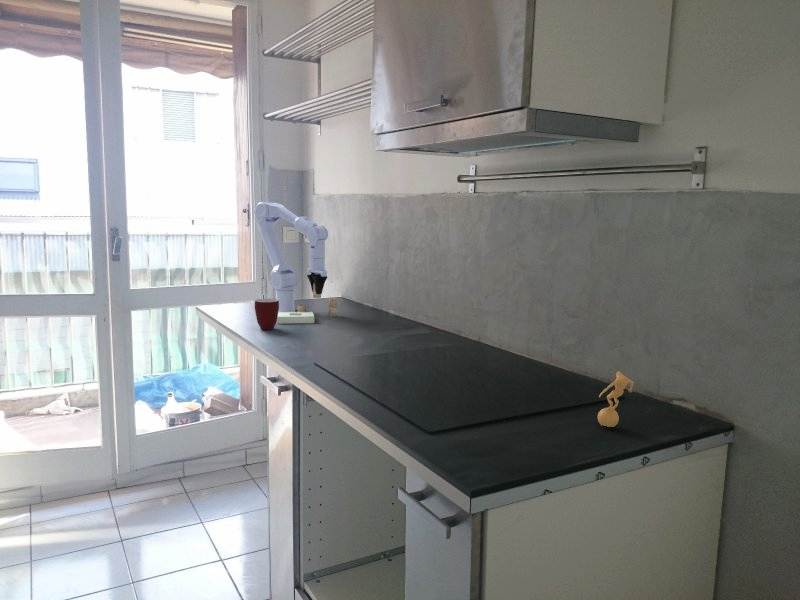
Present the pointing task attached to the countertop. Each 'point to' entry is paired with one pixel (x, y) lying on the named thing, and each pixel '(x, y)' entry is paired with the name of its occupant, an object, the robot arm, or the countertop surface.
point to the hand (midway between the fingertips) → (317, 293)
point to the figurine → (609, 414)
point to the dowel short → (300, 308)
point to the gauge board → (295, 317)
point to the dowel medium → (315, 293)
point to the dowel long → (332, 307)
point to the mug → (266, 313)
